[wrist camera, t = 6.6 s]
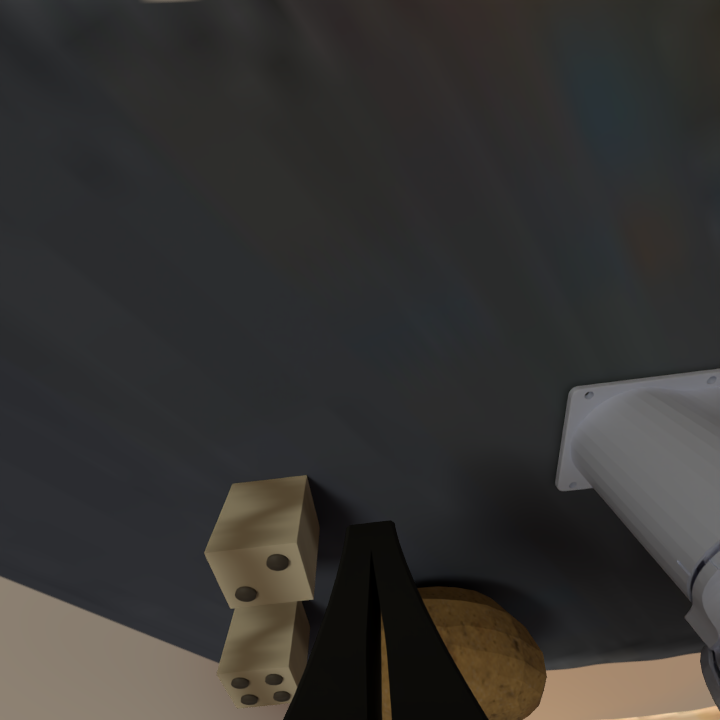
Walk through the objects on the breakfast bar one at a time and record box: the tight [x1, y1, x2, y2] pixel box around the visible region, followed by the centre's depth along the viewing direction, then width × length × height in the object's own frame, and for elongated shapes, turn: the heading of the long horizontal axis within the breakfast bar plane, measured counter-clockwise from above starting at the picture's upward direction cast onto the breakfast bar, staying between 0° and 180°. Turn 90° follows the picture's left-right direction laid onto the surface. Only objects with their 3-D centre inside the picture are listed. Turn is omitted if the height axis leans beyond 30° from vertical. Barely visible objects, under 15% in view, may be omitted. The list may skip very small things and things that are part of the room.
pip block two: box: [204, 475, 320, 609], centre depth 21 cm, size 5×5×5 cm
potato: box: [381, 587, 547, 720], centre depth 25 cm, size 10×14×8 cm
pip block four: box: [217, 601, 310, 708], centre depth 27 cm, size 5×5×5 cm
